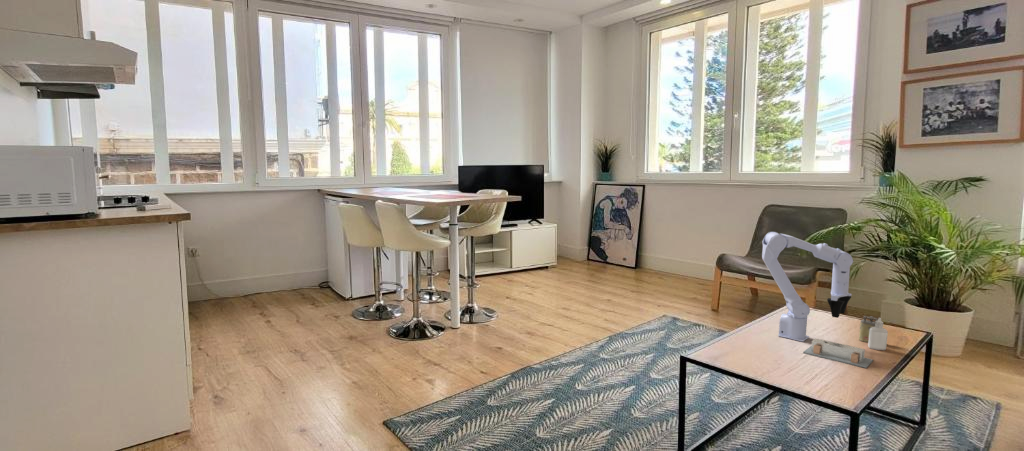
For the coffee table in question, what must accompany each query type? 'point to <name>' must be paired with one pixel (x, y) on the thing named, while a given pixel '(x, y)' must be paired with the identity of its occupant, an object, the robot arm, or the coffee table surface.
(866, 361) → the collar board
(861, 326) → the lighter
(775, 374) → the coffee table surface
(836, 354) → the silver long block
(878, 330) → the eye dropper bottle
